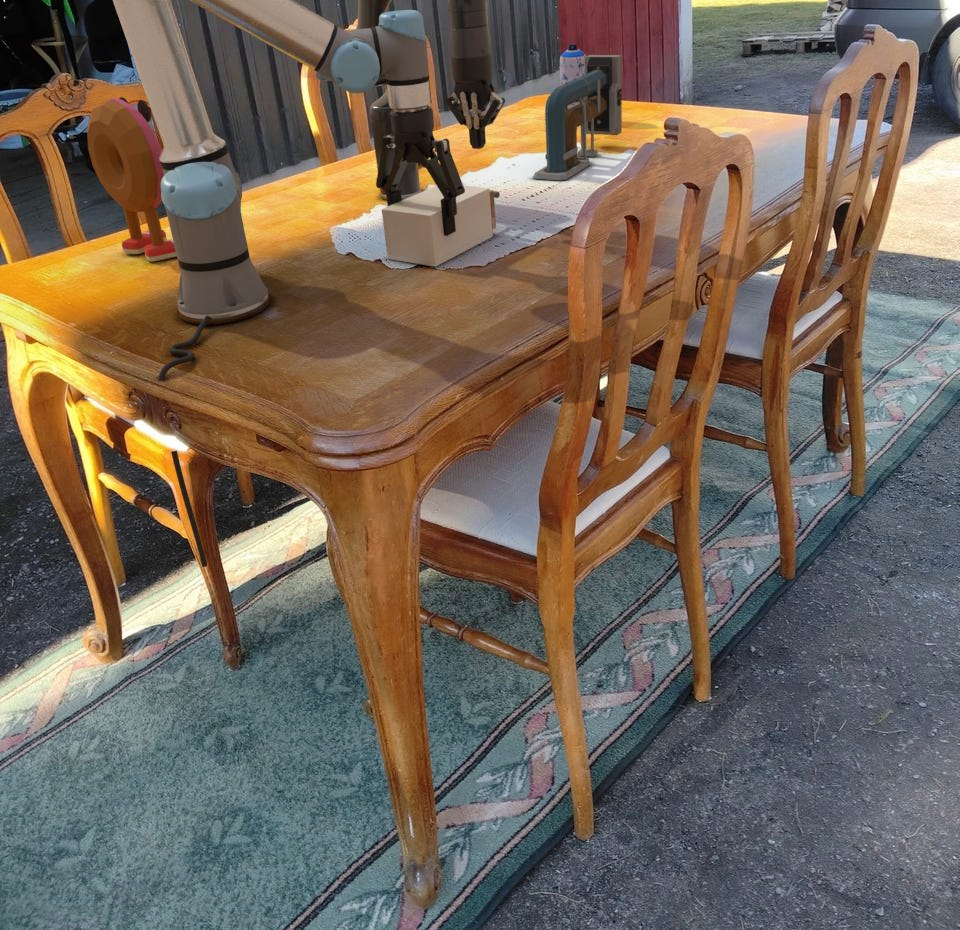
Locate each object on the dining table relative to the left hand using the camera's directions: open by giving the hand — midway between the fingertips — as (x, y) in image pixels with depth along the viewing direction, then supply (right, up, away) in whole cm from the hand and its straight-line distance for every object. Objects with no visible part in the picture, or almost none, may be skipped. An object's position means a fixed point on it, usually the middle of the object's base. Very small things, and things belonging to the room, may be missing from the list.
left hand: (423, 229), depth 181 cm
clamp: (+35, +30, +55) cm, 72 cm away
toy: (-55, -1, +17) cm, 58 cm away
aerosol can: (+38, +55, +97) cm, 118 cm away
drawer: (+6, +1, +9) cm, 11 cm away
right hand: (+10, +18, +8) cm, 22 cm away
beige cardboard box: (+3, -2, +6) cm, 7 cm away
